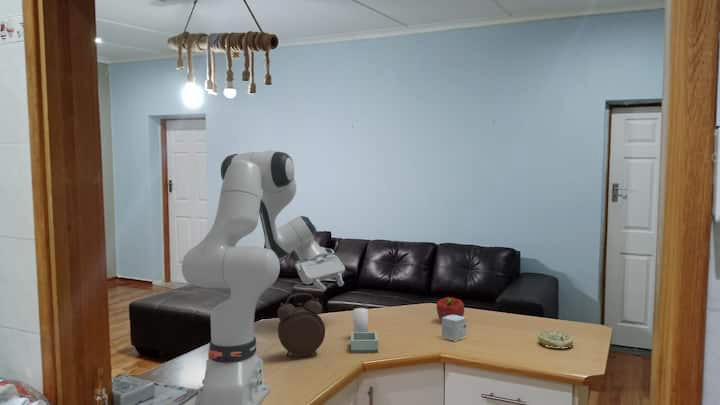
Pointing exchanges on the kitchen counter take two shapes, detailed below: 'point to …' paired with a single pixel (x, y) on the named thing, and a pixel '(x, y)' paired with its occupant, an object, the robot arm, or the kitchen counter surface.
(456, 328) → the skincare box
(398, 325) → the kitchen counter surface
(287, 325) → the alarm clock
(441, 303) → the vegetable
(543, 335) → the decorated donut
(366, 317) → the cylinder
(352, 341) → the teal open box
